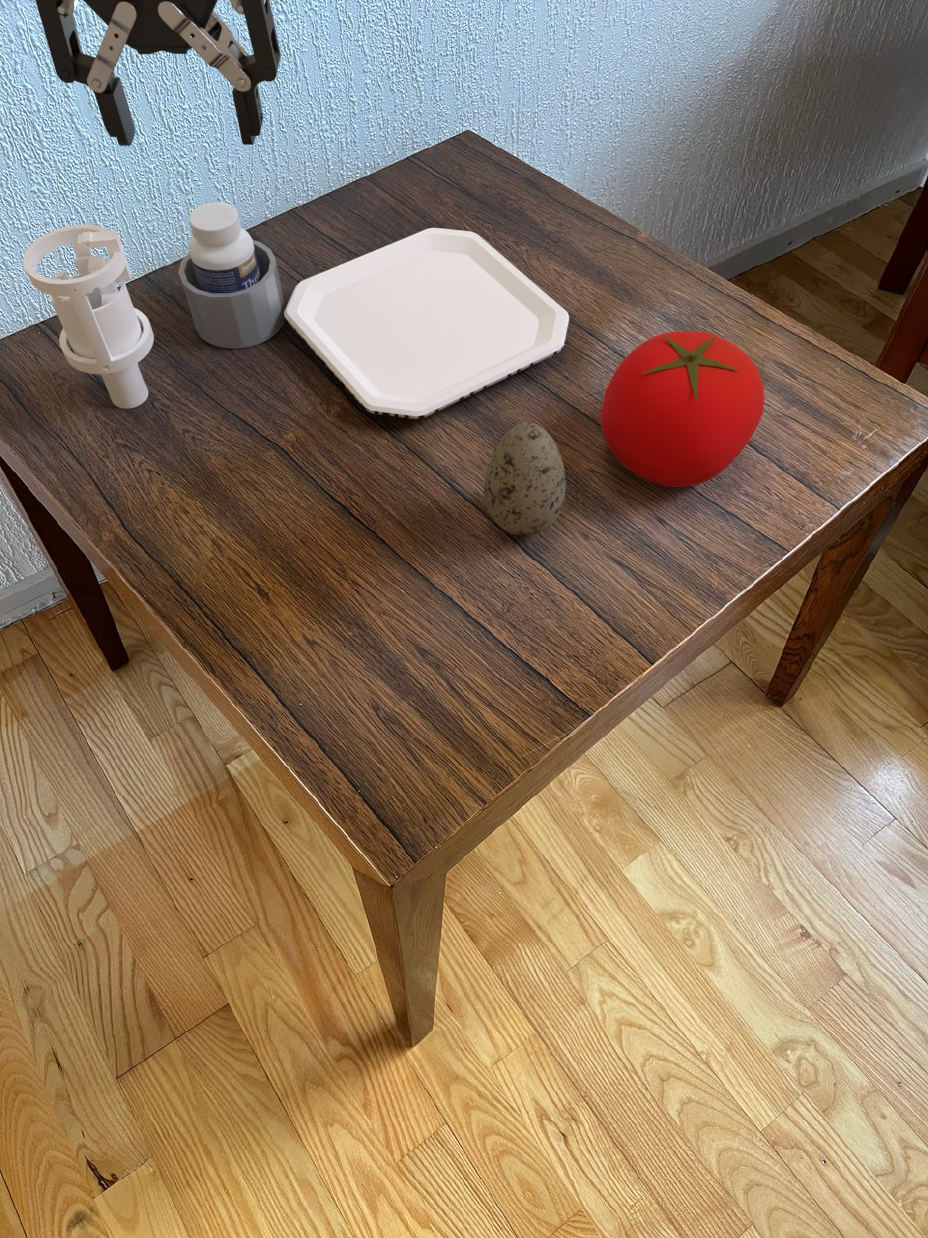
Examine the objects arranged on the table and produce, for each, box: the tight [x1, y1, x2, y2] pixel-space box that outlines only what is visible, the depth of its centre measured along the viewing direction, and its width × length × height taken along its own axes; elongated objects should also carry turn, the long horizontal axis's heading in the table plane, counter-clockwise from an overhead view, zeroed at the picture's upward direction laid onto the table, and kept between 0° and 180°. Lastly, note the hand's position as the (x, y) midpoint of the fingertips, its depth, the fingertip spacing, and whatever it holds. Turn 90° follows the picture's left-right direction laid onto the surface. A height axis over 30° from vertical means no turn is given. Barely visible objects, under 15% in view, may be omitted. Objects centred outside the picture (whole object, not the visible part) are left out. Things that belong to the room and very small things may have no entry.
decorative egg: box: [483, 422, 567, 537], centre depth 69 cm, size 6×6×10 cm
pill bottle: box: [188, 201, 261, 293], centre depth 82 cm, size 5×5×10 cm
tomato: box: [600, 330, 765, 488], centre depth 72 cm, size 11×12×10 cm
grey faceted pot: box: [178, 239, 286, 350], centre depth 85 cm, size 8×8×6 cm
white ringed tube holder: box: [22, 224, 155, 410], centre depth 75 cm, size 7×7×15 cm
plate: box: [284, 227, 570, 420], centre depth 85 cm, size 21×21×2 cm
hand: (188, 139), depth 67 cm, fingers open, 8 cm apart
